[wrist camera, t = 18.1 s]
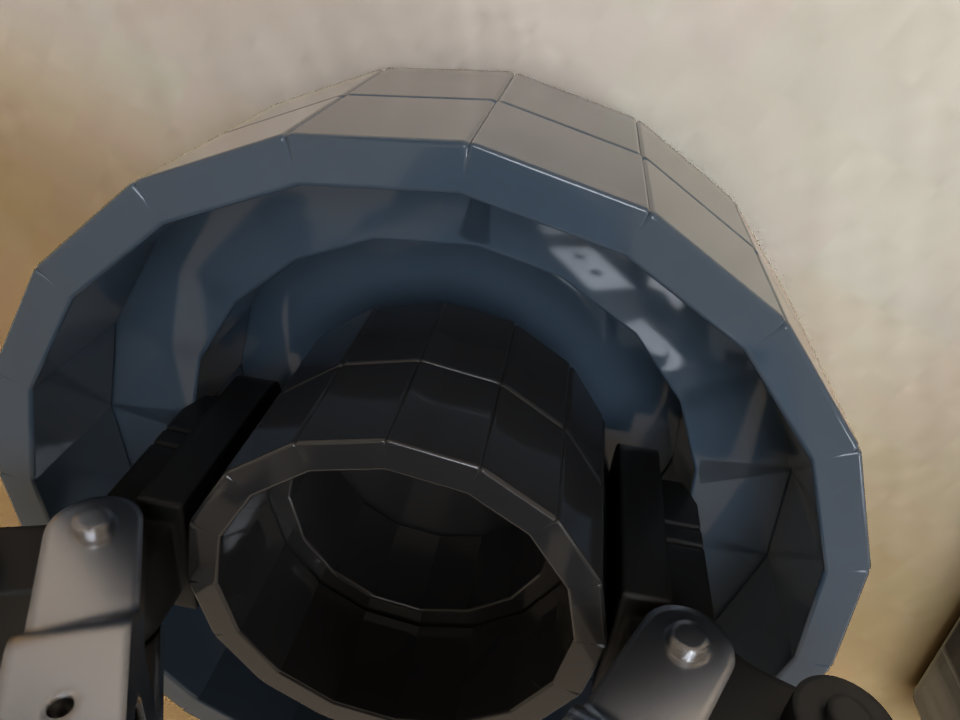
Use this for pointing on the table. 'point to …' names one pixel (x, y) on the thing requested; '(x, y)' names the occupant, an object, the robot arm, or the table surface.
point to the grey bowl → (461, 281)
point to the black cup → (415, 525)
